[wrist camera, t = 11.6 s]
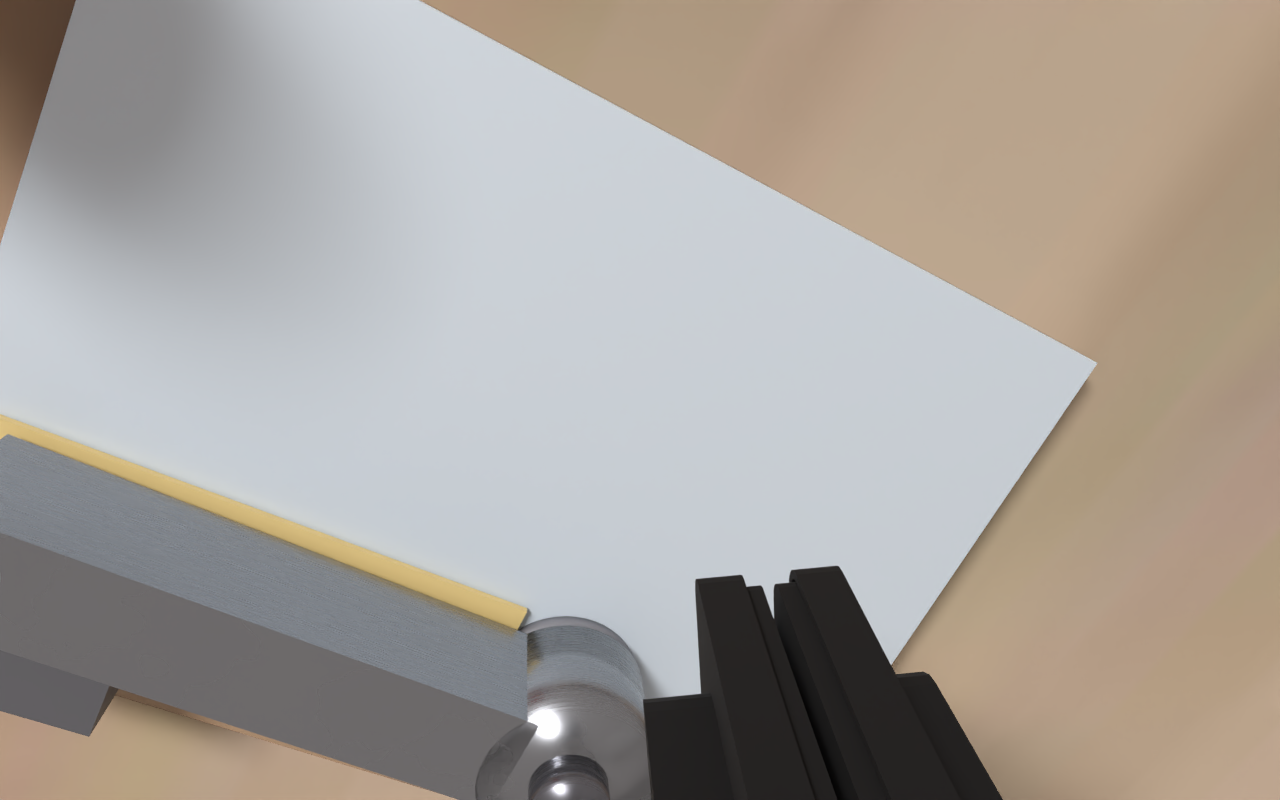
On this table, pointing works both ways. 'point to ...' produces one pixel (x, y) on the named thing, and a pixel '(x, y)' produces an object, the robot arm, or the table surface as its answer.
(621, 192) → the door board
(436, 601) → the latch bar
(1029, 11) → the table surface
